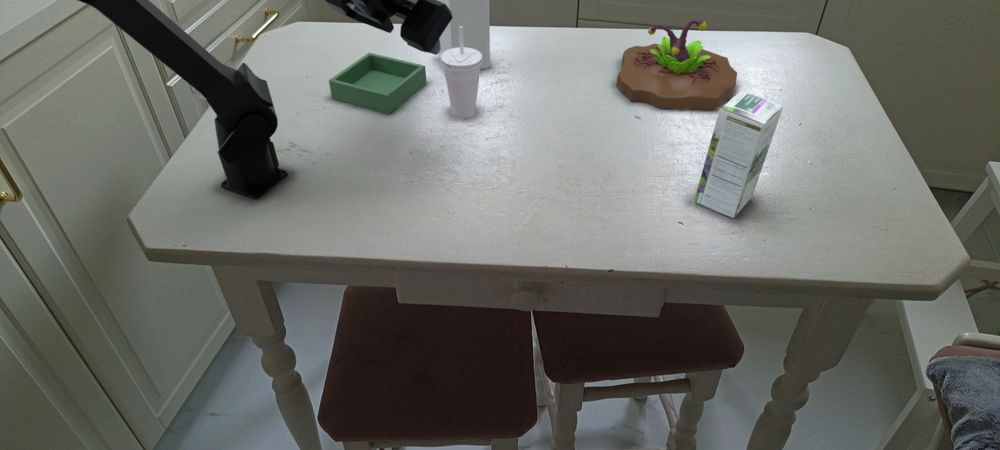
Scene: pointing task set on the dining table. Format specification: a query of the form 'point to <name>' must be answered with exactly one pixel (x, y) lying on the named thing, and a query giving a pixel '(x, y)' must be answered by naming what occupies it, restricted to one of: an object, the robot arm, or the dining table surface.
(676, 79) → the plant
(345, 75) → the caddy
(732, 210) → the syrup box
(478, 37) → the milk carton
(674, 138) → the dining table surface
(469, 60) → the smoothie
